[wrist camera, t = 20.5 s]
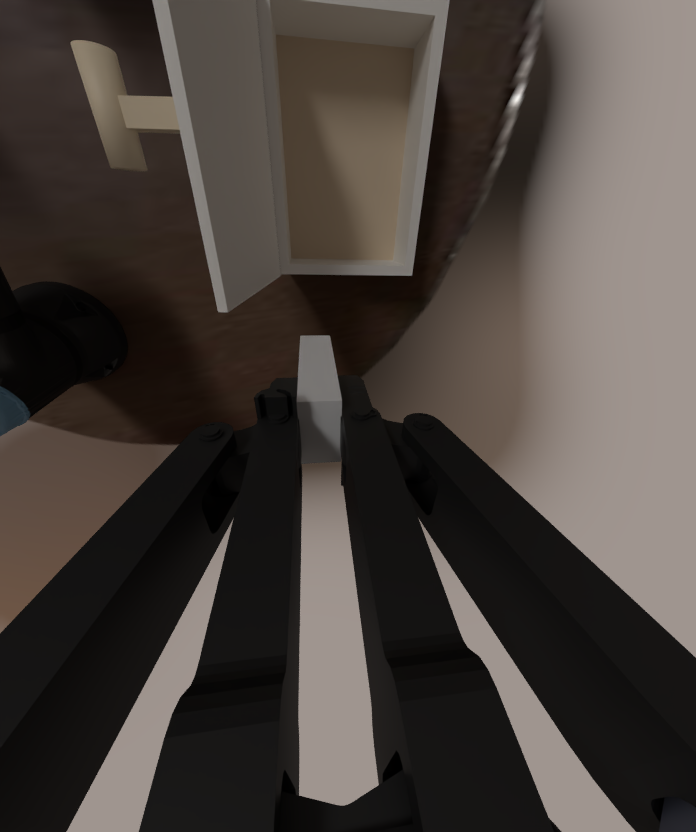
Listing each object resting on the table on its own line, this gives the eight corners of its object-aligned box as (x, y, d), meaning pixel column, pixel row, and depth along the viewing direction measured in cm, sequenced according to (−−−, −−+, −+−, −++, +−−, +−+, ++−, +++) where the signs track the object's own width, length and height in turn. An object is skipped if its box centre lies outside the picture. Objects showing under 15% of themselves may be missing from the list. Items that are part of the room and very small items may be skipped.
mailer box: (284, 266, 45) (280, 274, 39) (263, 20, 32) (253, -28, 26) (398, 268, 47) (411, 275, 41) (423, 36, 34) (449, -4, 28)
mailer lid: (280, 275, 39) (216, 273, 39) (252, -33, 25) (154, -35, 26) (228, 312, 24) (123, 308, 24) (88, -412, 10) (-153, -410, 10)
